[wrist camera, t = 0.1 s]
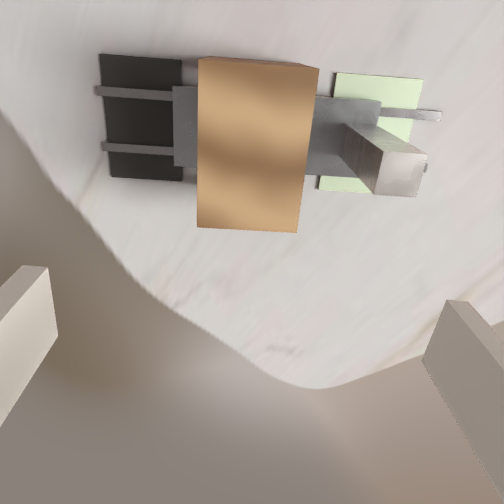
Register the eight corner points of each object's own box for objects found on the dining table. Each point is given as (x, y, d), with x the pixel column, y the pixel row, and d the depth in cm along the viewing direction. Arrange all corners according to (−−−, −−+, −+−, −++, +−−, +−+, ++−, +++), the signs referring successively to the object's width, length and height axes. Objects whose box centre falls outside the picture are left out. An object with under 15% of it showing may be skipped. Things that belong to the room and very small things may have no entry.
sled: (174, 85, 35) (144, 101, 24) (377, 100, 36) (436, 123, 25) (176, 162, 38) (149, 208, 27) (362, 174, 39) (408, 223, 28)
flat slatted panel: (100, 53, 34) (99, 53, 34) (181, 60, 34) (180, 60, 34) (112, 175, 39) (111, 176, 39) (182, 180, 40) (181, 181, 39)
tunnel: (209, 56, 34) (198, 59, 25) (299, 63, 35) (319, 68, 26) (206, 186, 40) (196, 227, 31) (284, 191, 40) (296, 232, 31)
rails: (98, 85, 35) (96, 85, 35) (440, 111, 37) (442, 112, 37) (104, 149, 38) (103, 150, 37) (423, 170, 40) (425, 172, 39)
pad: (336, 72, 35) (337, 72, 35) (422, 79, 36) (423, 79, 35) (318, 188, 40) (318, 189, 40) (393, 193, 41) (394, 194, 40)
